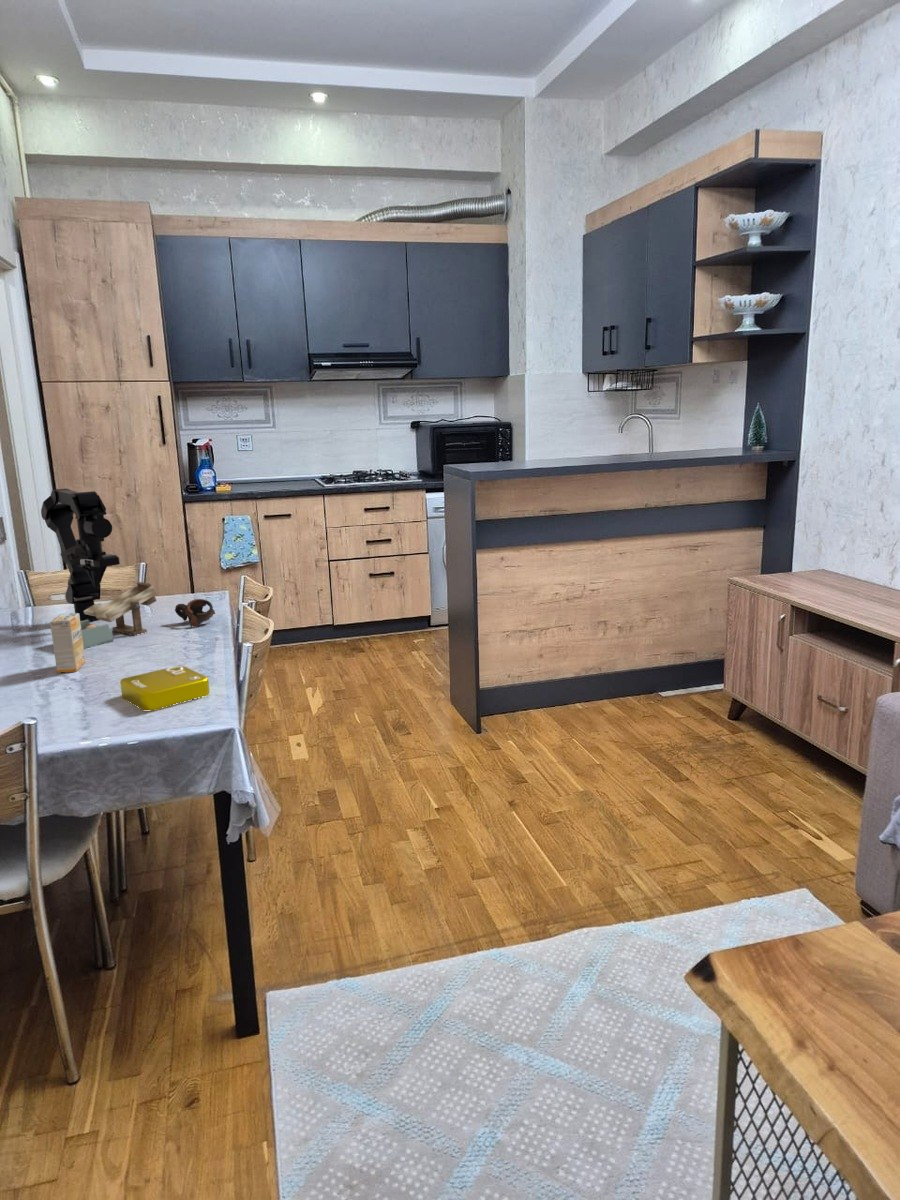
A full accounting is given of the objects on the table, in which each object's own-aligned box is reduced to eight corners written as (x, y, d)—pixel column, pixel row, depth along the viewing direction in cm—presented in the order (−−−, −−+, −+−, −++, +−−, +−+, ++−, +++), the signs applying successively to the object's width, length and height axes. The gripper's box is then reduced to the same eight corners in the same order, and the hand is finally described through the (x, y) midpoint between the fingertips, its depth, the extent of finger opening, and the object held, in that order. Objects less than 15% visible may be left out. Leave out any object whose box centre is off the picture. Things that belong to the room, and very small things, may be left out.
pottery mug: (217, 619, 245) (219, 599, 240) (209, 639, 238) (210, 619, 233) (178, 611, 244) (179, 590, 239) (168, 631, 237) (168, 611, 231)
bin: (56, 645, 219) (53, 627, 218) (92, 636, 228) (90, 619, 226) (77, 650, 213) (74, 632, 212) (113, 641, 221) (111, 623, 220)
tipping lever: (129, 594, 242) (122, 579, 240) (159, 600, 234) (151, 584, 231) (84, 621, 232) (76, 605, 229) (113, 628, 223) (105, 611, 221)
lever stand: (125, 627, 236) (121, 596, 234) (146, 632, 229) (143, 600, 227) (112, 630, 233) (108, 599, 231) (134, 635, 226) (130, 603, 224)
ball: (97, 634, 225) (84, 640, 222) (91, 621, 223) (79, 628, 221) (104, 635, 223) (92, 642, 220) (99, 623, 221) (87, 629, 218)
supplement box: (77, 672, 195) (70, 620, 192) (56, 673, 194) (49, 621, 191) (86, 662, 203) (79, 612, 200) (66, 663, 202) (59, 613, 199)
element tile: (119, 698, 176) (116, 677, 175) (183, 681, 186) (181, 662, 185) (146, 714, 166) (143, 693, 164) (213, 696, 175) (211, 676, 174)
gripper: (45, 536, 231) (53, 589, 234) (80, 541, 220) (88, 596, 223) (82, 531, 239) (89, 582, 243) (117, 535, 229) (124, 588, 232)
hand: (96, 587), depth 235 cm, fingers closed
